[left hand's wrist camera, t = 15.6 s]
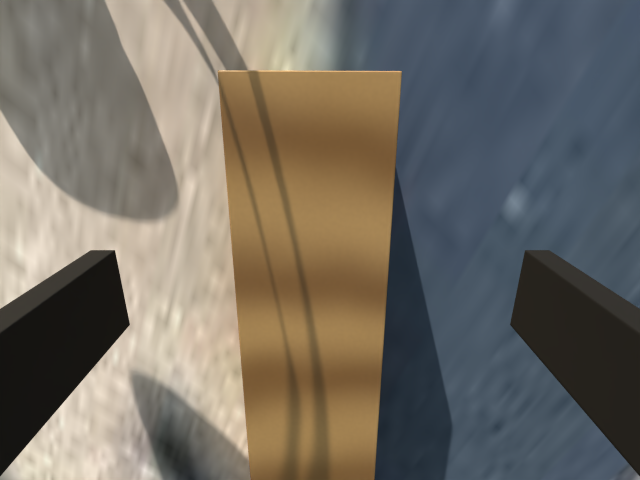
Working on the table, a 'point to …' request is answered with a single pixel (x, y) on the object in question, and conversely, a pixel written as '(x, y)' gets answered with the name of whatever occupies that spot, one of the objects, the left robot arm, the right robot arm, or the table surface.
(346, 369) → the thick board
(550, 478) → the table surface
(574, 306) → the left robot arm
